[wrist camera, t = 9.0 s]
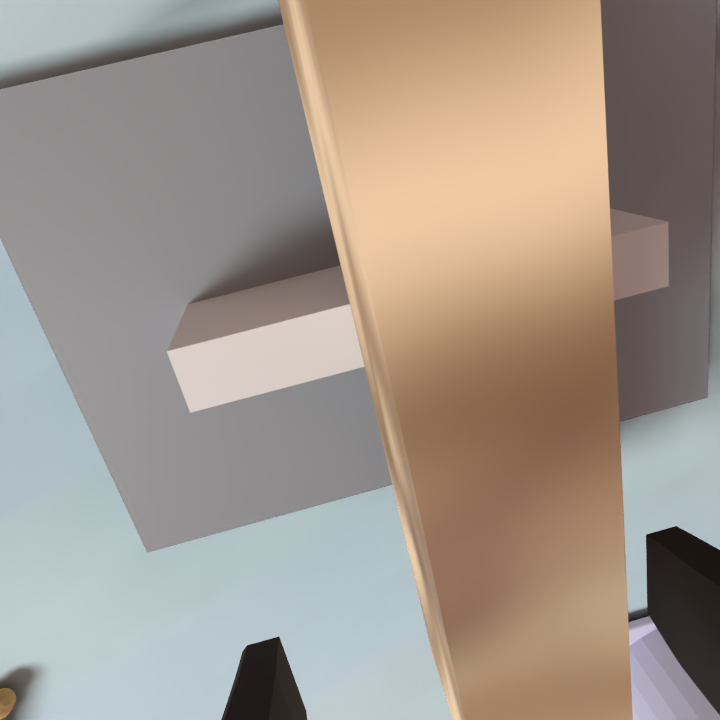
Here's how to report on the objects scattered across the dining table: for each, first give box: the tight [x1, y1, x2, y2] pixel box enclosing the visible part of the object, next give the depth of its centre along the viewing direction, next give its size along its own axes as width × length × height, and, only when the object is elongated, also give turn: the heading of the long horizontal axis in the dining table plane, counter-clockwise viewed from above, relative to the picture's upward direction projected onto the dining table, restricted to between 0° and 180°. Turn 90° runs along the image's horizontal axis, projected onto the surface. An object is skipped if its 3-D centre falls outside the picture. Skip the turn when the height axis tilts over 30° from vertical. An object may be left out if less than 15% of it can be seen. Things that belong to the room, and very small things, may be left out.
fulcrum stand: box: [0, 0, 717, 552], centre depth 16 cm, size 20×14×5 cm
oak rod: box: [278, 0, 633, 720], centre depth 11 cm, size 22×4×5 cm, turn 12°
